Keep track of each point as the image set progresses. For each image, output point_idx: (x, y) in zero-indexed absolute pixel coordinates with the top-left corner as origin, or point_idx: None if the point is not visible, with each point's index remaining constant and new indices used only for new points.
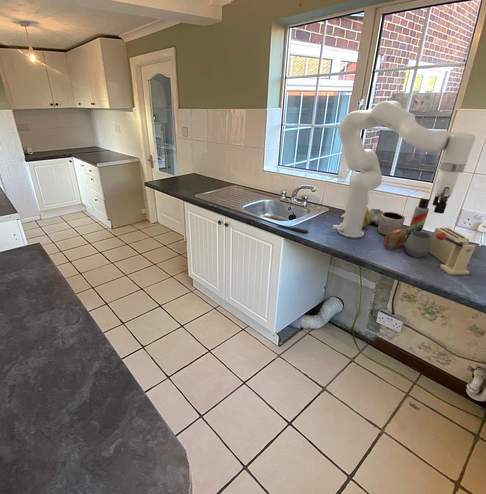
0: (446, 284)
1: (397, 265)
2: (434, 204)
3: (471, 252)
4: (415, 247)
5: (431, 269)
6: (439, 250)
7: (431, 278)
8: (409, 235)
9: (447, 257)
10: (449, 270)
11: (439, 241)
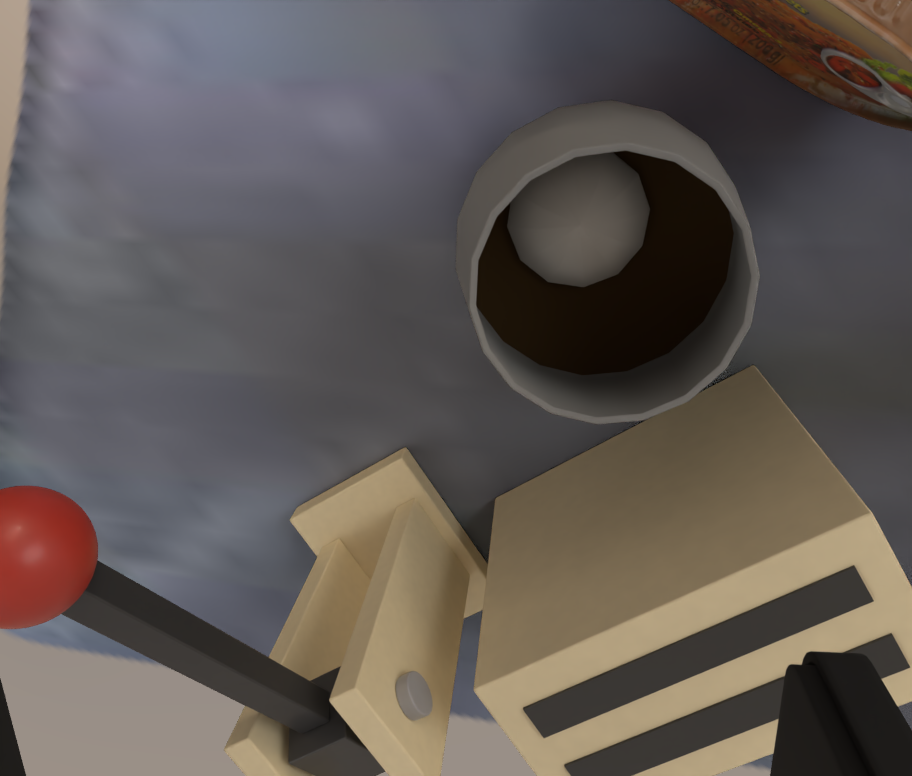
0: (96, 465)
1: (189, 60)
2: (795, 719)
3: None
4: (459, 226)
5: (307, 376)
6: (618, 479)
7: (122, 366)
8: None
9: (496, 532)
10: (314, 514)
11: (675, 505)
